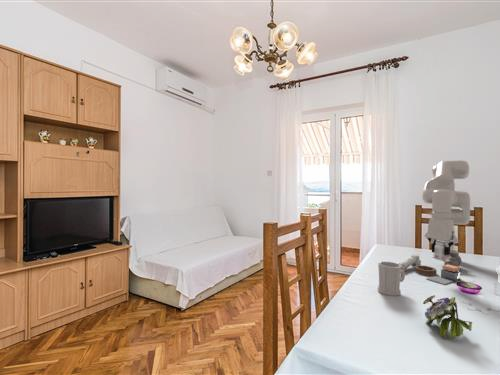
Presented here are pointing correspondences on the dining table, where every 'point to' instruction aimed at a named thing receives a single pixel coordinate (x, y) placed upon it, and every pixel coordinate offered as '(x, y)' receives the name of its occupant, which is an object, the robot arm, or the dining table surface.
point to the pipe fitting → (453, 258)
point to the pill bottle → (439, 250)
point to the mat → (440, 280)
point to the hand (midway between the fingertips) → (440, 253)
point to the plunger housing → (449, 275)
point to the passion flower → (444, 309)
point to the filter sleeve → (425, 270)
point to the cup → (390, 278)
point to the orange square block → (450, 268)
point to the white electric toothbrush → (410, 262)
